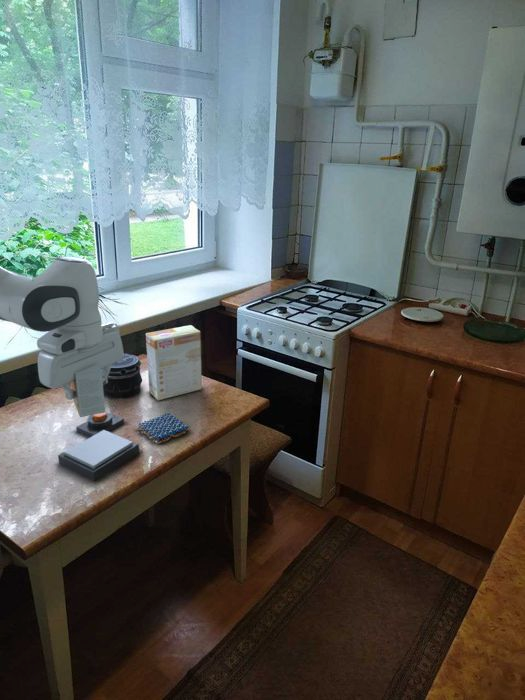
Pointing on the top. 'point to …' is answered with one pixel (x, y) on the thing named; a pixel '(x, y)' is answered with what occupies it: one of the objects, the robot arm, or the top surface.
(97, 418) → the tare button
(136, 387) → the container
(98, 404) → the small box
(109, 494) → the top surface
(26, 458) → the top surface
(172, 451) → the top surface
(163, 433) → the woven mat
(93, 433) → the dark grey button base
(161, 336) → the coffeecake box
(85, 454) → the scale
